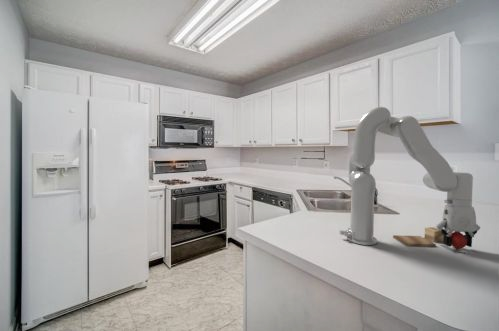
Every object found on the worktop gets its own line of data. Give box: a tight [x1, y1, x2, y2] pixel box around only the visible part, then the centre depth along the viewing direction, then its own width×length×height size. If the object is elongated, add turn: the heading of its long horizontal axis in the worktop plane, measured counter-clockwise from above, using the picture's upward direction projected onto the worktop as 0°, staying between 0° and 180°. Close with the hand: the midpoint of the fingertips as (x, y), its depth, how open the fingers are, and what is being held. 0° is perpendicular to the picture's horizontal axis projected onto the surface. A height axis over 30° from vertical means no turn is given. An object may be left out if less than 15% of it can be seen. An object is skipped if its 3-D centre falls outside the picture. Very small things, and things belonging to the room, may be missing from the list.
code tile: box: [439, 244, 477, 255], centre depth 94 cm, size 8×8×1 cm
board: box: [392, 234, 437, 248], centre depth 102 cm, size 12×10×1 cm
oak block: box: [424, 226, 444, 242], centre depth 104 cm, size 5×5×5 cm
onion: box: [450, 231, 467, 249], centre depth 94 cm, size 6×6×8 cm
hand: (457, 245), depth 94 cm, fingers open, 7 cm apart
